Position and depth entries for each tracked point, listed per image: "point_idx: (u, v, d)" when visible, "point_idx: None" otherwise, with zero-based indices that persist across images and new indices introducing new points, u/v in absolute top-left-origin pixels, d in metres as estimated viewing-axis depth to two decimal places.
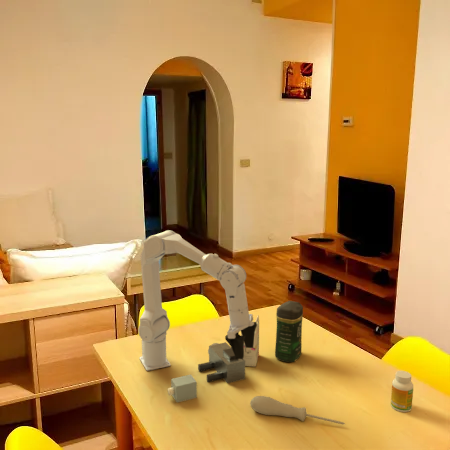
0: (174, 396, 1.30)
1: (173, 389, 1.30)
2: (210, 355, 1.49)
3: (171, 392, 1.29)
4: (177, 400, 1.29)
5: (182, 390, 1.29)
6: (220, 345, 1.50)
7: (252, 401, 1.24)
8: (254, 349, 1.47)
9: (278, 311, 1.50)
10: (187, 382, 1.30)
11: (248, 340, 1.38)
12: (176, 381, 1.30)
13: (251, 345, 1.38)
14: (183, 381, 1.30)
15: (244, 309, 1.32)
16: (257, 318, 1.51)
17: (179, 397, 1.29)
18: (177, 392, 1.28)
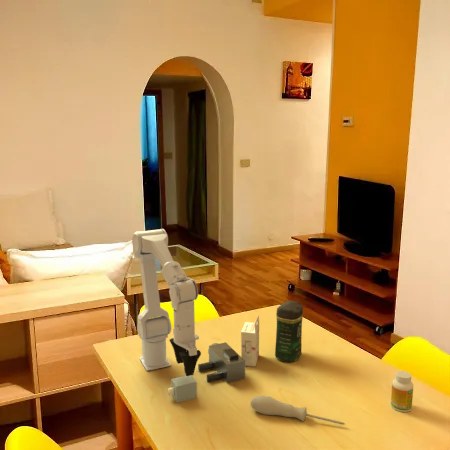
0: (174, 396, 1.30)
1: (173, 389, 1.30)
2: (210, 355, 1.49)
3: (171, 392, 1.29)
4: (177, 400, 1.29)
5: (182, 390, 1.29)
6: (220, 345, 1.50)
7: (252, 401, 1.24)
8: (254, 349, 1.47)
9: (278, 311, 1.50)
10: (187, 383, 1.30)
11: (181, 355, 1.33)
12: (176, 381, 1.30)
13: None
14: (183, 382, 1.30)
15: (194, 323, 1.28)
16: (257, 318, 1.51)
17: (179, 397, 1.29)
18: (177, 392, 1.28)
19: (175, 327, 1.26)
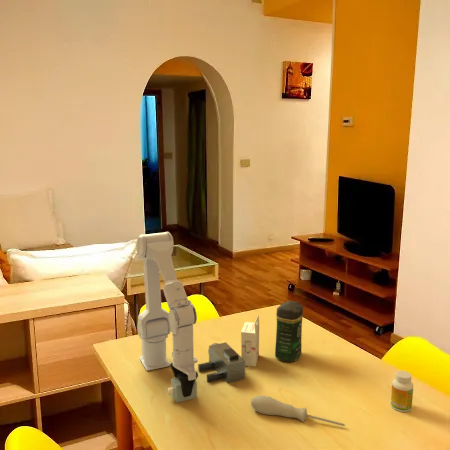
0: (174, 396, 1.30)
1: (173, 389, 1.30)
2: (210, 355, 1.49)
3: (171, 392, 1.29)
4: (177, 400, 1.29)
5: None
6: (220, 345, 1.50)
7: (253, 401, 1.25)
8: (254, 349, 1.47)
9: (278, 311, 1.50)
10: None
11: None
12: (176, 381, 1.30)
13: None
14: None
15: None
16: (257, 318, 1.51)
17: (179, 397, 1.29)
18: (177, 392, 1.28)
19: (174, 351, 1.28)
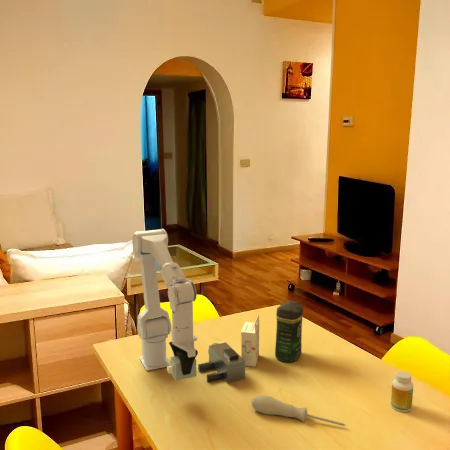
0: (173, 374, 1.29)
1: (172, 367, 1.28)
2: (210, 355, 1.49)
3: (170, 370, 1.28)
4: (176, 378, 1.28)
5: None
6: (220, 345, 1.50)
7: (253, 400, 1.25)
8: (254, 349, 1.47)
9: (278, 311, 1.50)
10: None
11: None
12: (176, 359, 1.29)
13: None
14: None
15: (192, 324, 1.28)
16: (257, 318, 1.51)
17: (179, 375, 1.28)
18: (176, 370, 1.27)
19: (174, 328, 1.26)
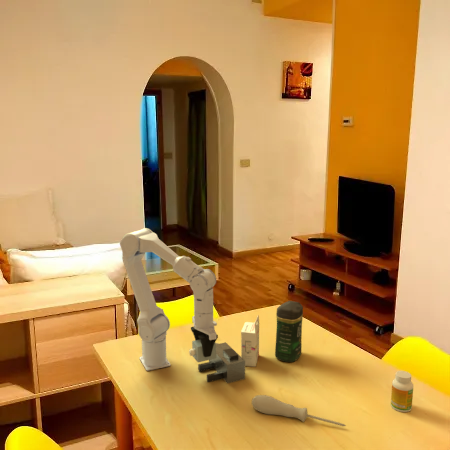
0: (195, 356, 1.40)
1: (194, 350, 1.39)
2: None
3: (192, 352, 1.39)
4: (198, 360, 1.39)
5: None
6: (220, 345, 1.50)
7: (253, 400, 1.25)
8: (254, 349, 1.47)
9: (278, 311, 1.50)
10: None
11: None
12: (197, 343, 1.40)
13: None
14: None
15: None
16: (257, 318, 1.51)
17: (200, 357, 1.39)
18: (198, 352, 1.38)
19: (195, 314, 1.37)
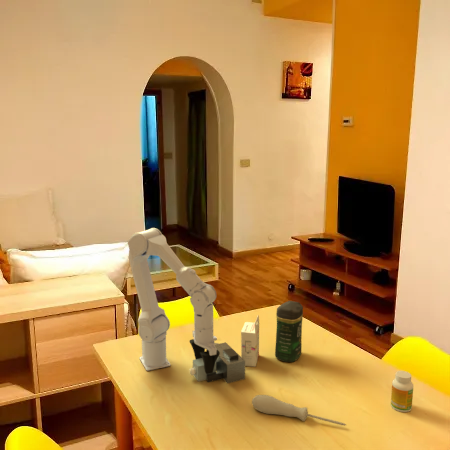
0: (195, 376, 1.41)
1: (195, 369, 1.41)
2: None
3: (193, 372, 1.40)
4: (198, 379, 1.40)
5: (203, 370, 1.40)
6: (220, 345, 1.50)
7: (254, 400, 1.25)
8: (254, 349, 1.47)
9: (278, 311, 1.50)
10: None
11: (200, 355, 1.45)
12: (197, 362, 1.41)
13: None
14: (203, 362, 1.41)
15: None
16: (257, 318, 1.51)
17: (200, 377, 1.40)
18: (198, 372, 1.39)
19: (196, 329, 1.38)
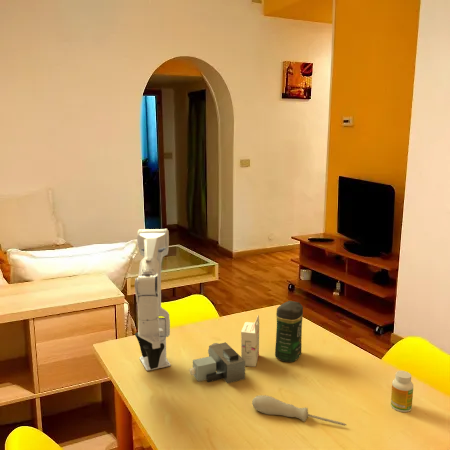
0: (195, 375, 1.41)
1: (194, 369, 1.41)
2: (210, 355, 1.49)
3: (193, 372, 1.40)
4: (198, 379, 1.40)
5: (203, 370, 1.40)
6: (220, 345, 1.50)
7: (254, 400, 1.25)
8: (254, 349, 1.47)
9: (278, 311, 1.50)
10: (207, 363, 1.41)
11: None
12: (197, 362, 1.41)
13: None
14: (203, 362, 1.41)
15: (158, 317, 1.30)
16: (257, 318, 1.51)
17: (200, 377, 1.40)
18: (198, 372, 1.39)
19: (139, 321, 1.28)
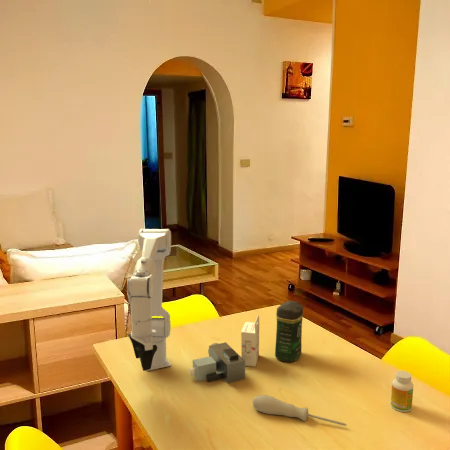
0: (195, 375, 1.41)
1: (194, 369, 1.41)
2: (210, 355, 1.49)
3: (193, 372, 1.40)
4: (198, 379, 1.40)
5: (203, 370, 1.40)
6: (220, 345, 1.50)
7: (254, 400, 1.25)
8: (254, 349, 1.47)
9: (278, 311, 1.50)
10: (207, 363, 1.41)
11: None
12: (197, 362, 1.41)
13: None
14: (203, 362, 1.41)
15: (151, 318, 1.29)
16: (257, 318, 1.51)
17: (200, 377, 1.40)
18: (198, 372, 1.39)
19: (132, 322, 1.27)
